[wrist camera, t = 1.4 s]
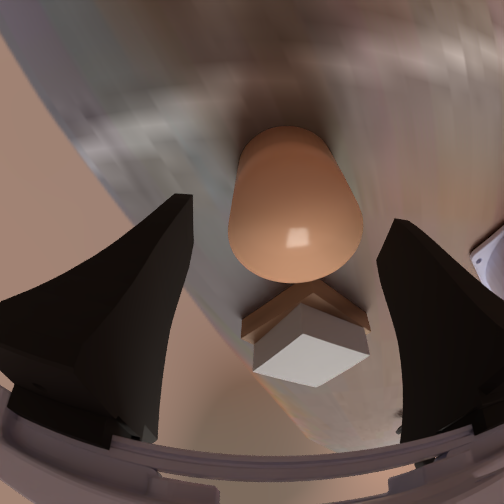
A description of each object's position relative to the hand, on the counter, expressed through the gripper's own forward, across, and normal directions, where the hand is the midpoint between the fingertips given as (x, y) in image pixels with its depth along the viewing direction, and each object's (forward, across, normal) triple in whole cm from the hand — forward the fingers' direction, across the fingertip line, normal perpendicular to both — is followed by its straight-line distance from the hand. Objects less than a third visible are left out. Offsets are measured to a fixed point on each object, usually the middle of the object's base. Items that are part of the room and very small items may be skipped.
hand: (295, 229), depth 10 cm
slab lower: (+5, -3, +11) cm, 13 cm away
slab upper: (+3, -3, +11) cm, 12 cm away
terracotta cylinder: (+5, 0, 0) cm, 5 cm away
